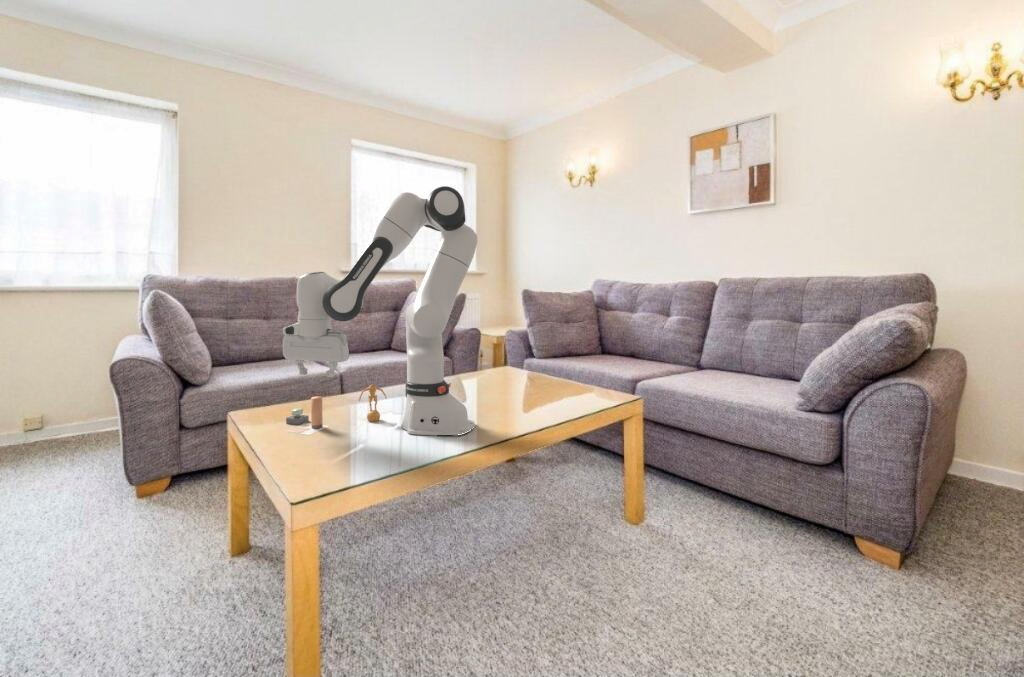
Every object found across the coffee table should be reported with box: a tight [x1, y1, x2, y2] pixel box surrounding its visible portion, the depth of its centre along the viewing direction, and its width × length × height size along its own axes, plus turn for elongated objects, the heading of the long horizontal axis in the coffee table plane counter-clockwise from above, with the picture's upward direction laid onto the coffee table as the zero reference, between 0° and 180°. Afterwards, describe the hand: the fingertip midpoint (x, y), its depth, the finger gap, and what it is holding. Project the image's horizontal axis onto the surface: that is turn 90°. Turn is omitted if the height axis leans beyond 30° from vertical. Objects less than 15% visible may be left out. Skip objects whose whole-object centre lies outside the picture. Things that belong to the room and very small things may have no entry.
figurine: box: [358, 383, 387, 423], centre depth 146 cm, size 8×6×12 cm
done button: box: [290, 407, 304, 418], centre depth 142 cm, size 3×3×3 cm
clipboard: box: [283, 414, 330, 436], centre depth 137 cm, size 14×12×2 cm
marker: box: [310, 396, 324, 429], centre depth 137 cm, size 3×3×9 cm
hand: (316, 375), depth 136 cm, fingers open, 8 cm apart
